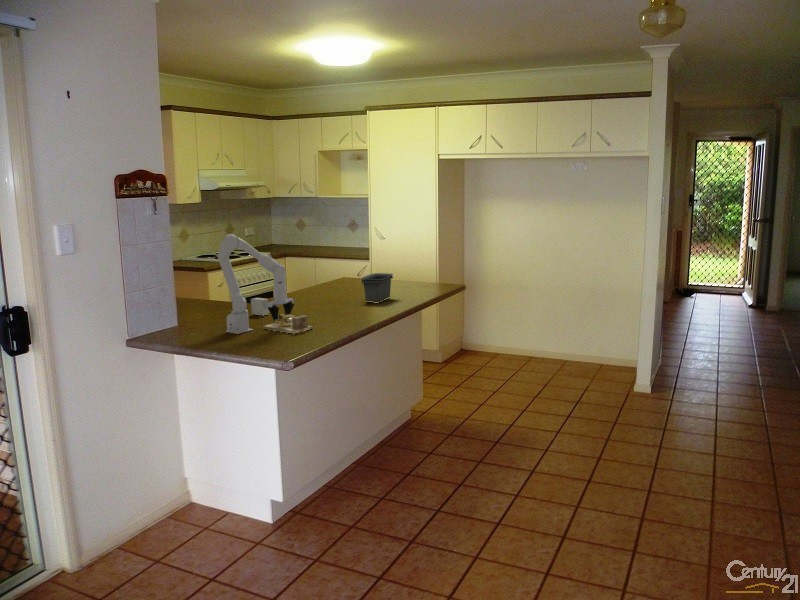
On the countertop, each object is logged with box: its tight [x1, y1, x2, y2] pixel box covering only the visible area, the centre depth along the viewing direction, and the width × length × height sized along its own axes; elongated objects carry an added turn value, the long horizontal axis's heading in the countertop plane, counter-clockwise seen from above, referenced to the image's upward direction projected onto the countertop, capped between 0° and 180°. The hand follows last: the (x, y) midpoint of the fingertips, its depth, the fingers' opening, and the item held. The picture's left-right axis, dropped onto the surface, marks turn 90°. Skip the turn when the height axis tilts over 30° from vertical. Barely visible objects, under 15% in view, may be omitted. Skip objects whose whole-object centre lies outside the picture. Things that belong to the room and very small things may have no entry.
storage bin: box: [360, 272, 394, 302], centre depth 377 cm, size 21×16×14 cm
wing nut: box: [274, 312, 296, 326], centre depth 309 cm, size 11×3×5 cm, turn 144°
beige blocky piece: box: [262, 315, 314, 335], centre depth 308 cm, size 12×20×7 cm, turn 54°
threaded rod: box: [271, 316, 292, 323], centre depth 308 cm, size 2×16×2 cm, turn 54°
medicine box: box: [250, 297, 270, 317], centre depth 341 cm, size 8×4×9 cm, turn 59°
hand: (281, 320), depth 310 cm, fingers open, 7 cm apart
